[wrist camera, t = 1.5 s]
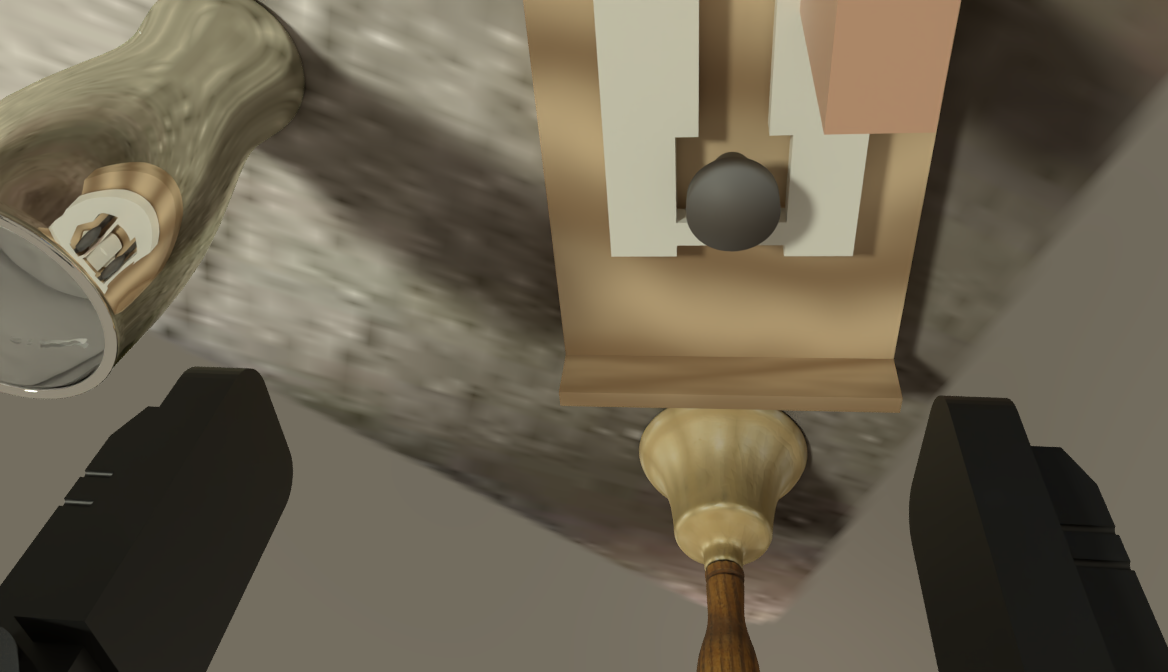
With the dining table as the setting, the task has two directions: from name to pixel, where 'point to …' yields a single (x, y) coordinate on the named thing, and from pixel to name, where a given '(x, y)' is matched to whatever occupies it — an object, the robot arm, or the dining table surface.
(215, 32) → the beer glass
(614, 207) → the panel
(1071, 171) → the dining table surface
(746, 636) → the hand bell
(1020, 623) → the robot arm
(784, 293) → the boss board
